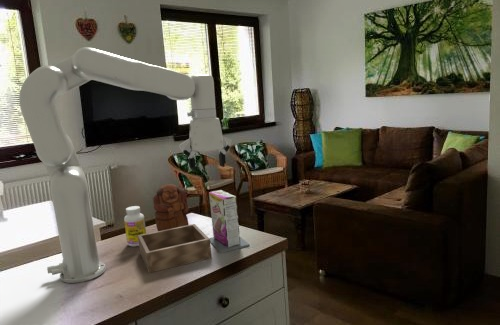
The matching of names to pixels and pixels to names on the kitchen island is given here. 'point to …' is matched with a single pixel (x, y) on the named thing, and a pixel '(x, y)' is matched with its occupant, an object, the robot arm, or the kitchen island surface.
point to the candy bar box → (224, 218)
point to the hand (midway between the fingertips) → (207, 168)
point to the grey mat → (223, 248)
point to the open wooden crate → (174, 247)
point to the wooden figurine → (170, 207)
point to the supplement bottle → (134, 225)
